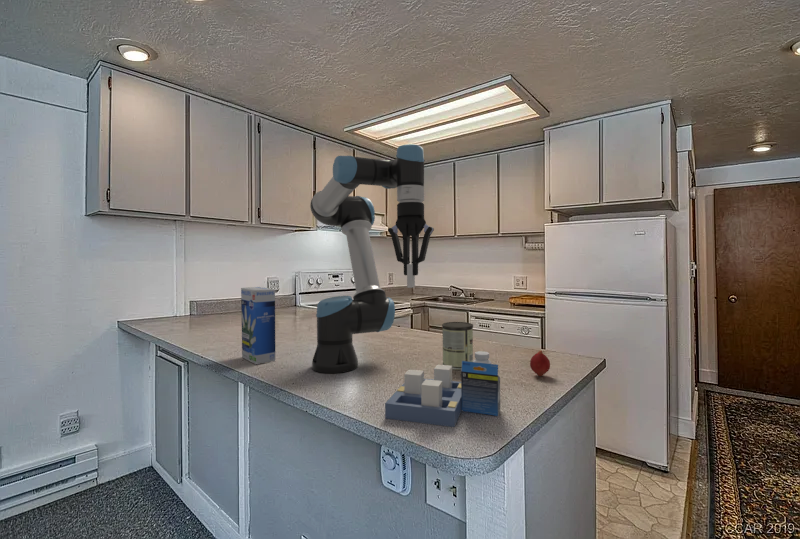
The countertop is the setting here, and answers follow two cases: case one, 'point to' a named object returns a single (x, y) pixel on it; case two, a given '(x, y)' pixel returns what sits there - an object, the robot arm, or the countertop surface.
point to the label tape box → (480, 388)
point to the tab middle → (413, 381)
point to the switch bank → (425, 407)
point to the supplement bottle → (481, 359)
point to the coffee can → (457, 343)
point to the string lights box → (258, 324)
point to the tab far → (443, 375)
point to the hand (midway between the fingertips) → (411, 287)
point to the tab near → (431, 393)
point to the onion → (540, 363)
